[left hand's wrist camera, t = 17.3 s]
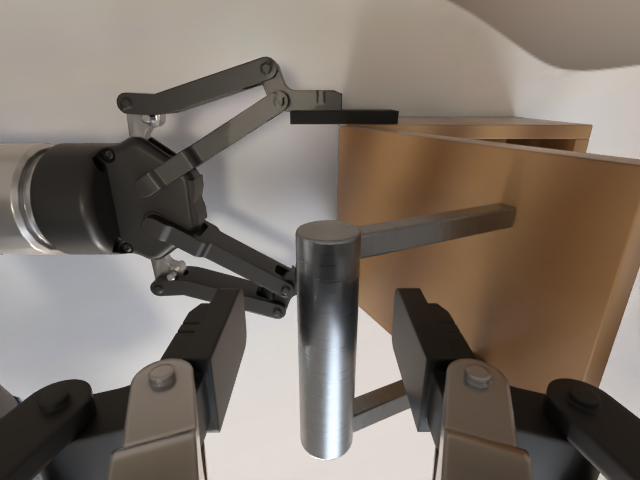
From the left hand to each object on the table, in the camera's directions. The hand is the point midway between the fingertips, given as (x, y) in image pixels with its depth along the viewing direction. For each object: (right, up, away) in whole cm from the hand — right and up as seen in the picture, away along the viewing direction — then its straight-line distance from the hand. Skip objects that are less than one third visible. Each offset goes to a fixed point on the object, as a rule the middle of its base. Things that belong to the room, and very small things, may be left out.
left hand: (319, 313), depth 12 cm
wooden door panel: (+5, +2, +5) cm, 7 cm away
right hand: (+5, +5, +13) cm, 15 cm away
